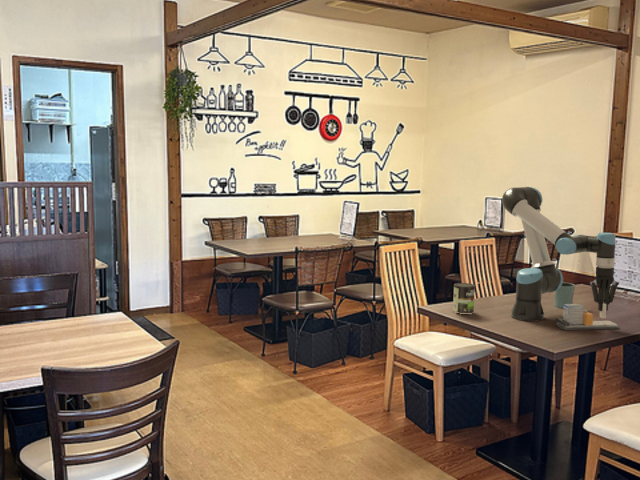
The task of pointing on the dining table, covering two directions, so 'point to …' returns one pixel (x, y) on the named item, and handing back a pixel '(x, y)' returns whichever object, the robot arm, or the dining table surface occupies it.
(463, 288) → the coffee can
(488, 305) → the dining table surface
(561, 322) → the grey shallow tray
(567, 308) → the medicine box
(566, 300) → the green cup
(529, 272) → the robot arm
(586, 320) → the rail end clamp
